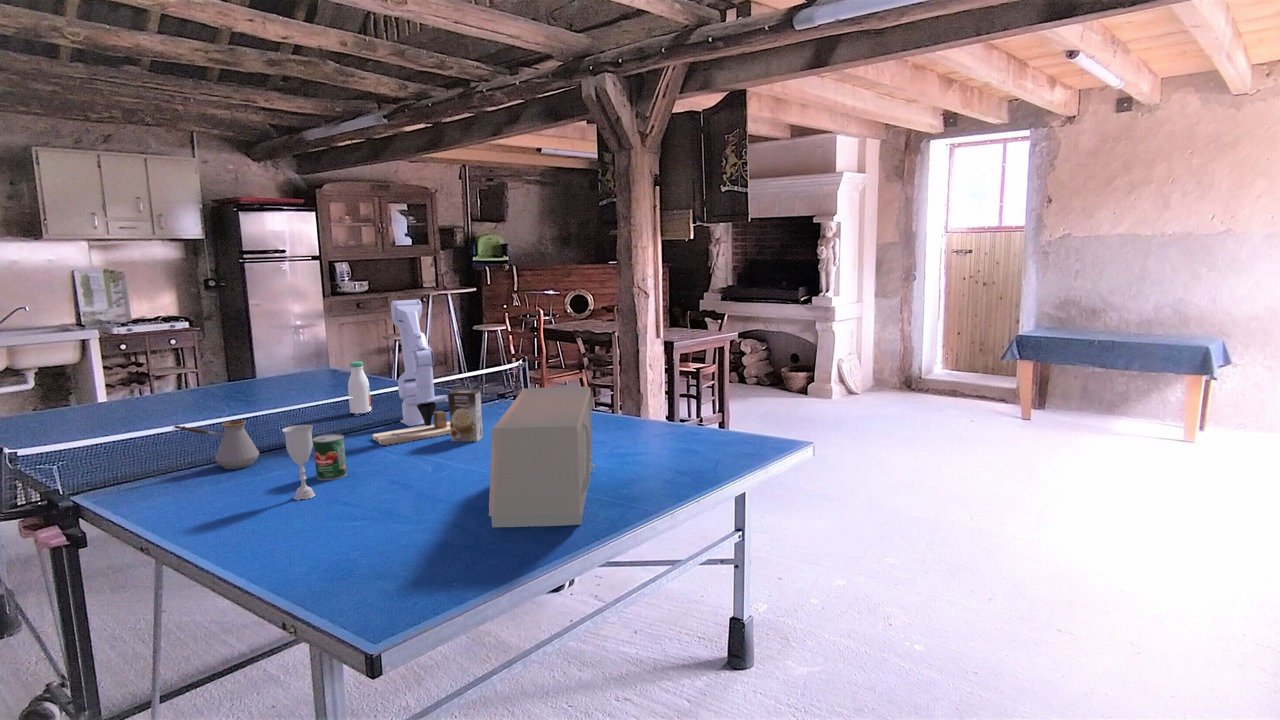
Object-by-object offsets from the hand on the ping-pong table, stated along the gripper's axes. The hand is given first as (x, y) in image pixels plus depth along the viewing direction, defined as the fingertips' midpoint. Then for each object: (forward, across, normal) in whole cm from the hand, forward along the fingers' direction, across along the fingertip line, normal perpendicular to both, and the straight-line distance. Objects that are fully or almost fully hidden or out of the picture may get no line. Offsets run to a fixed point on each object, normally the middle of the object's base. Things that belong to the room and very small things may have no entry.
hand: (427, 425), depth 251 cm
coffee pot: (+3, -62, +2) cm, 62 cm away
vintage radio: (+3, 0, -83) cm, 83 cm away
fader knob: (+1, +4, 0) cm, 4 cm away
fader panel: (+3, -3, 0) cm, 4 cm away
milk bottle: (+3, -8, +48) cm, 49 cm away
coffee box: (+3, +7, -16) cm, 18 cm away
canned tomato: (+3, -38, -28) cm, 47 cm away
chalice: (+3, -48, -42) cm, 64 cm away
